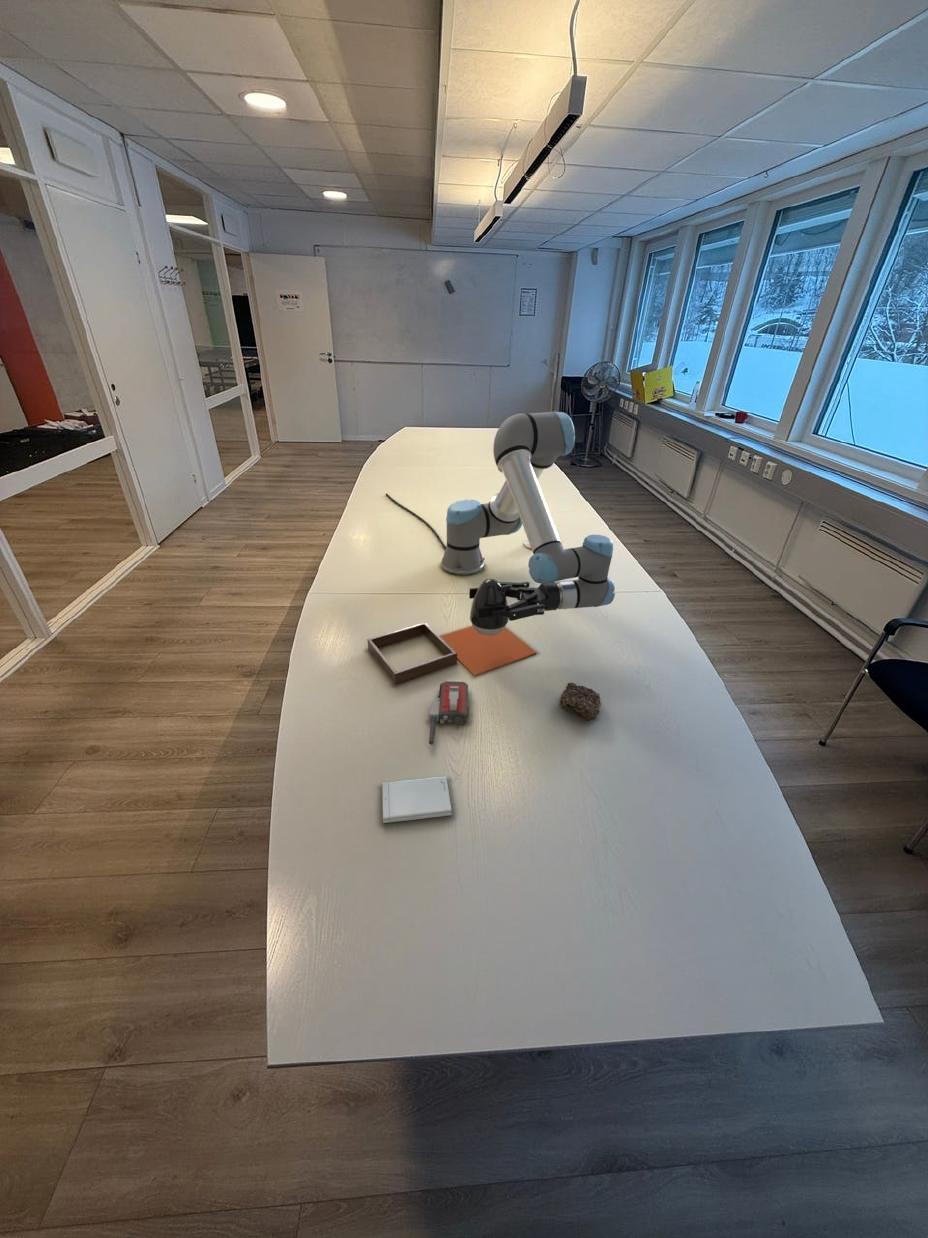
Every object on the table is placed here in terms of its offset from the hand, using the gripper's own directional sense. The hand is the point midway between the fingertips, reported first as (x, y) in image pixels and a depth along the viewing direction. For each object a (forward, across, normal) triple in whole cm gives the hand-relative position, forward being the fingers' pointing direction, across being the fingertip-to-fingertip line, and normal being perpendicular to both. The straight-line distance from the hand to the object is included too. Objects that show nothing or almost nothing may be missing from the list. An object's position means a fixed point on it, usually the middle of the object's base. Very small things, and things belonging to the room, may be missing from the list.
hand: (473, 602), depth 128 cm
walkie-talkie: (+11, -24, -15) cm, 31 cm away
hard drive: (+21, -46, -16) cm, 53 cm away
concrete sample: (-20, -27, -15) cm, 37 cm away
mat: (-4, +2, -15) cm, 16 cm away
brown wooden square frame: (+17, 0, -15) cm, 22 cm away
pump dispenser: (-4, 0, -9) cm, 10 cm away
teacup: (-41, +67, -15) cm, 80 cm away
